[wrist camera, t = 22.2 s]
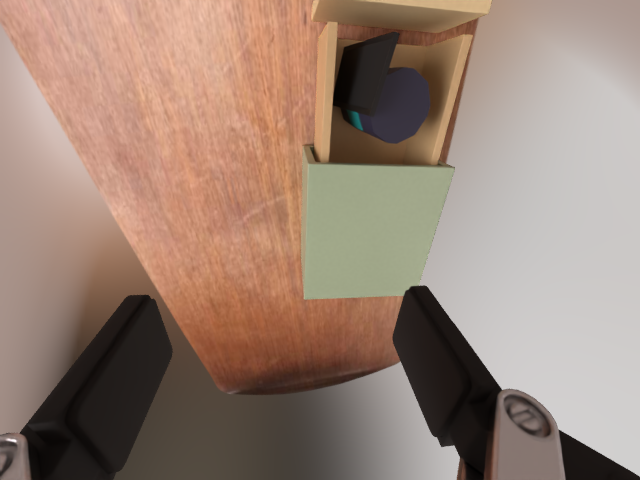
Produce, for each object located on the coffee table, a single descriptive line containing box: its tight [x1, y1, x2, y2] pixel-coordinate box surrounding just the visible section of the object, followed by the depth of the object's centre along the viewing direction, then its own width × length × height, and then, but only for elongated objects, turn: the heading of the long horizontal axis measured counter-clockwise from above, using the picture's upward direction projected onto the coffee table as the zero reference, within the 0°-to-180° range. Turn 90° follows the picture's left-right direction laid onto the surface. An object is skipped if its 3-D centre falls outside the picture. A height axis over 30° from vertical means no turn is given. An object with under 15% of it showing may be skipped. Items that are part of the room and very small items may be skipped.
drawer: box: [312, 0, 492, 165], centre depth 25 cm, size 21×13×8 cm, turn 177°
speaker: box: [333, 32, 431, 144], centre depth 24 cm, size 8×6×10 cm
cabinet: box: [301, 145, 455, 299], centre depth 33 cm, size 17×15×10 cm
